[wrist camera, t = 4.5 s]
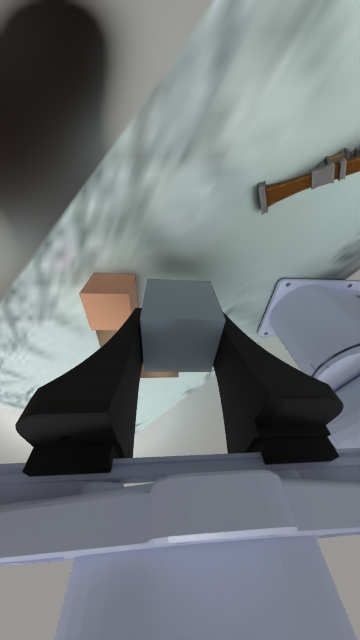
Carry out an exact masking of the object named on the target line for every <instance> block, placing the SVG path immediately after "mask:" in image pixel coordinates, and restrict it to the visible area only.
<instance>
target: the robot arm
mask: <svg viewBox="0 0 360 640" xmlns="http://www.w3.org/2000/svg"><path fill="white" fill-rule="evenodd" d="M287 283H288V284H287ZM286 284H287V285H286ZM359 290H360V281H359V280H320V279H281V280H280V281H279V282H278V283H277V286H276V288H275V291H274V293H273V296H272V298H271V300H270V303H269V305H268V308H267V310H266V313H265V315H264V317H263V320H262V322H261V325H260V327H259V330H258V332H257V333H258V335H259V336H278V337H279V339H280V340H281V342H282V343H283V345H284V346H285V348H286V349H287V350H288V352H289V354H290V355H291V357H292V358H293V359H294V361H295V363H296V364H297V365H298V367H299V368H300V370H301V371H302V372H301V371H299V370H298V369H296V368H294V367H292V366H290V365H288V364H287V363H285V362H283V361H282V360H280V359H278V358H277V357H275V356H274V355H272V354H271V353H269V352H267V351H266V350H265V349H263V348H262V347H261V346H259V345H258V344H257V343H255V342H254V341H253V340H252V339H251V338H249V337H248V336H247V335H246V334H245V333H244V332H243V331H241V330H240V329H239V328H238V327H237V326H236V325H235V324H234V323H233V322H232V321H231V320H230V319H229V318H228V317H227V316H226V315H225V314H224V313H223V315H224V317H225V320H226V321H225V324H224V328H223V331H222V335H221V338H220V342H219V345H218V349H217V353H216V356H215V360H214V363H213V367H214V370H215V374H216V377H217V381H218V386H219V392H220V397H221V404H222V411H223V417H224V425H225V433H226V441H227V450H228V454H214V455H213V454H211V455H190V456H169V457H168V456H167V457H147V458H146V457H144V458H133V447H134V446H133V445H134V434H135V422H136V410H137V399H138V390H139V381H140V376H141V371H142V366H143V349H142V336H141V323H140V316H141V311H142V308H135V309H134V310H133V312H132V313H131V315H130V316H129V317H128V319H127V320H126V321H125V323H124V324H123V325H122V326H121V327H120V329H119V330H118V331H117V332H116V333H115V334H114V335H113V336H112V337H111V338H110V339H109V340H108V341H107V342H106V343H105V344H104V345H103V346H102V347H101V348H100V349H99V350H97V351H96V352H95V353H94V354H92V355H91V356H90V357H89V358H87V359H86V360H85V361H83V362H82V363H80V364H79V365H77V366H76V367H74V368H73V369H71V370H70V371H68V372H67V373H65V374H63V375H62V376H60V377H58V378H56V379H55V380H53V381H51V382H49V383H47V384H46V385H44V386H42V387H40V388H38V389H37V391H36V392H35V394H34V395H33V397H32V398H31V399H30V401H29V403H28V404H27V406H26V408H25V409H24V411H23V413H22V415H21V416H20V418H19V420H18V421H17V423H16V430H17V432H18V433H19V434H20V436H22V437H23V438H24V439H25V440H26V441H27V442H28V443H30V444H31V445H32V446H33V447H34V448H33V450H32V452H31V454H30V456H29V458H28V460H27V462H26V463H11V464H0V566H4V565H17V564H28V563H41V562H52V561H65V560H73V564H72V567H71V572H70V576H69V580H68V584H67V588H66V592H65V596H64V601H63V605H62V609H61V613H60V617H59V621H58V626H57V630H56V634H55V638H54V640H357V638H356V635H355V633H354V630H353V628H352V625H351V623H350V621H349V618H348V615H347V613H346V611H345V608H344V606H343V603H342V601H341V599H340V596H339V593H338V591H337V589H336V586H335V584H334V581H333V579H332V576H331V574H330V571H329V569H328V566H327V564H326V562H325V559H324V557H323V555H322V552H321V549H320V547H319V544H318V542H317V540H316V538H326V537H337V536H348V535H357V534H360V291H359ZM265 332H266V333H265ZM142 482H155V483H149V484H143V485H135V486H128V487H124V485H123V484H126V483H142Z"/></svg>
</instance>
